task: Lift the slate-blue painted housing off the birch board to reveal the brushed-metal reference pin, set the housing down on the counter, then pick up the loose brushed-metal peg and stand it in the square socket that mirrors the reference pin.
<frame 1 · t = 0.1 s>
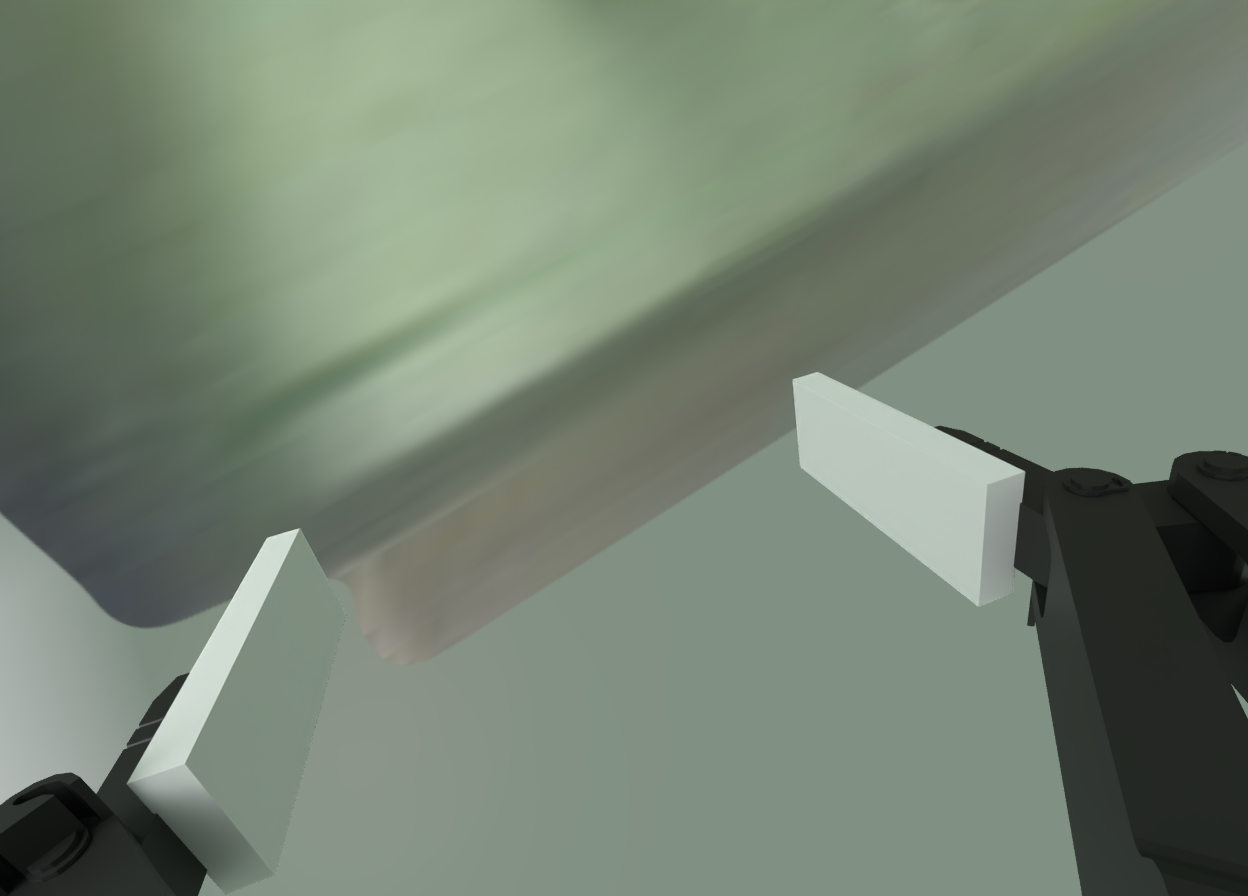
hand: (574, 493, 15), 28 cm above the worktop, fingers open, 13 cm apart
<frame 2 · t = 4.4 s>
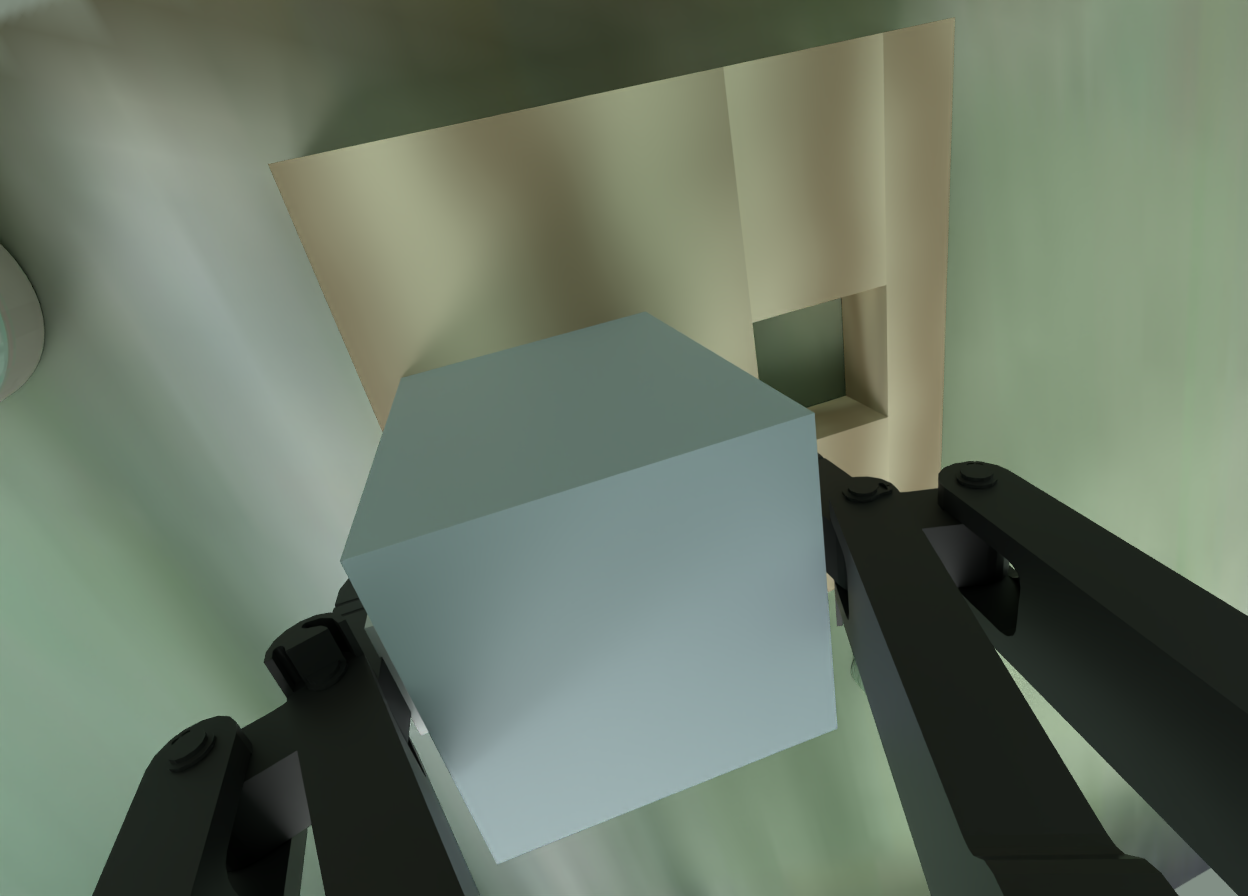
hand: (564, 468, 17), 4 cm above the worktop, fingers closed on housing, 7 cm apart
board: (671, 389, 21), on the worktop
housing: (558, 453, 18), point 3 cm above the worktop, touching board, gripper
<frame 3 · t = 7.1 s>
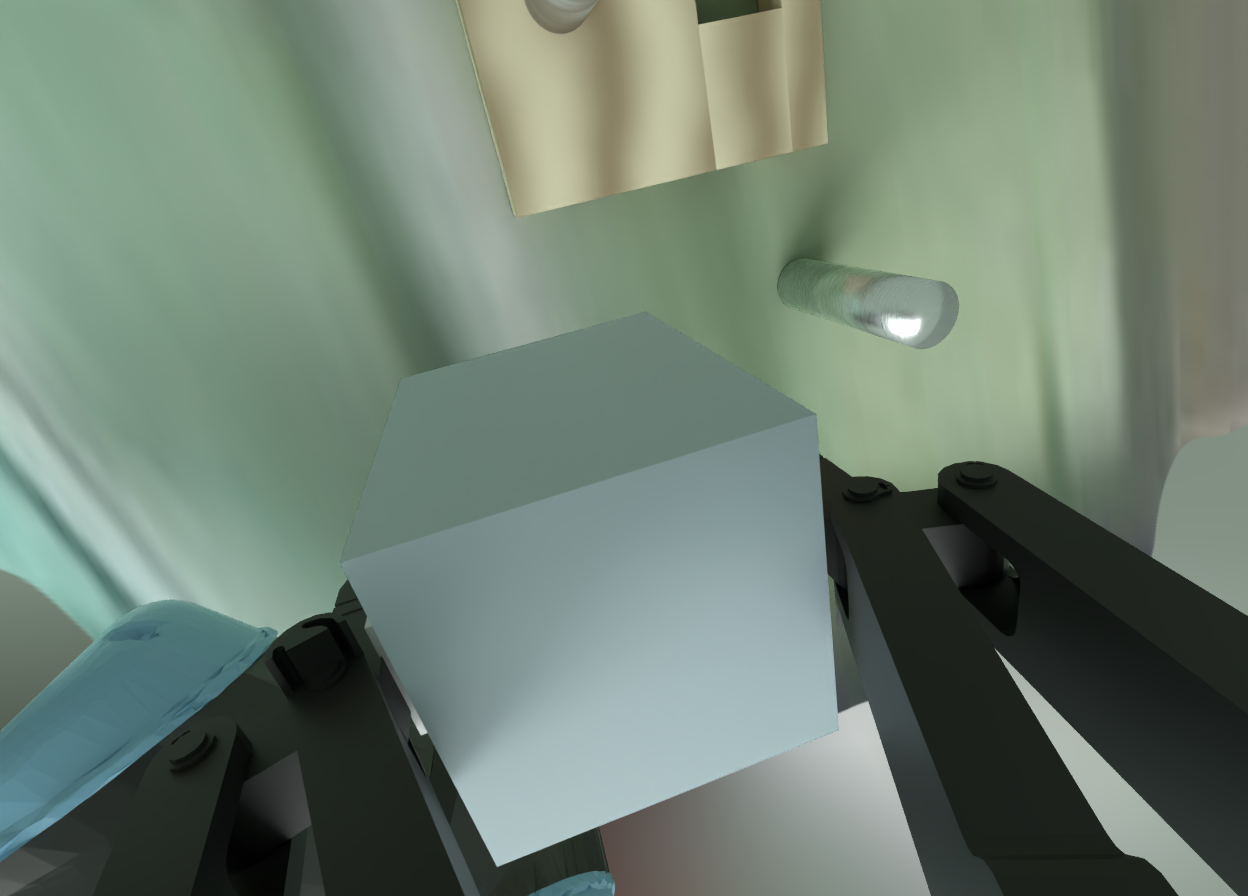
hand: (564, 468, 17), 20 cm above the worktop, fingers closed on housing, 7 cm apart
peg: (799, 283, 39), on the worktop
housing: (558, 454, 18), point 19 cm above the worktop, touching gripper
when the fingers open (3 cm above the worktop, at t = 10.1 s): housing drops 2 cm, on the worktop.
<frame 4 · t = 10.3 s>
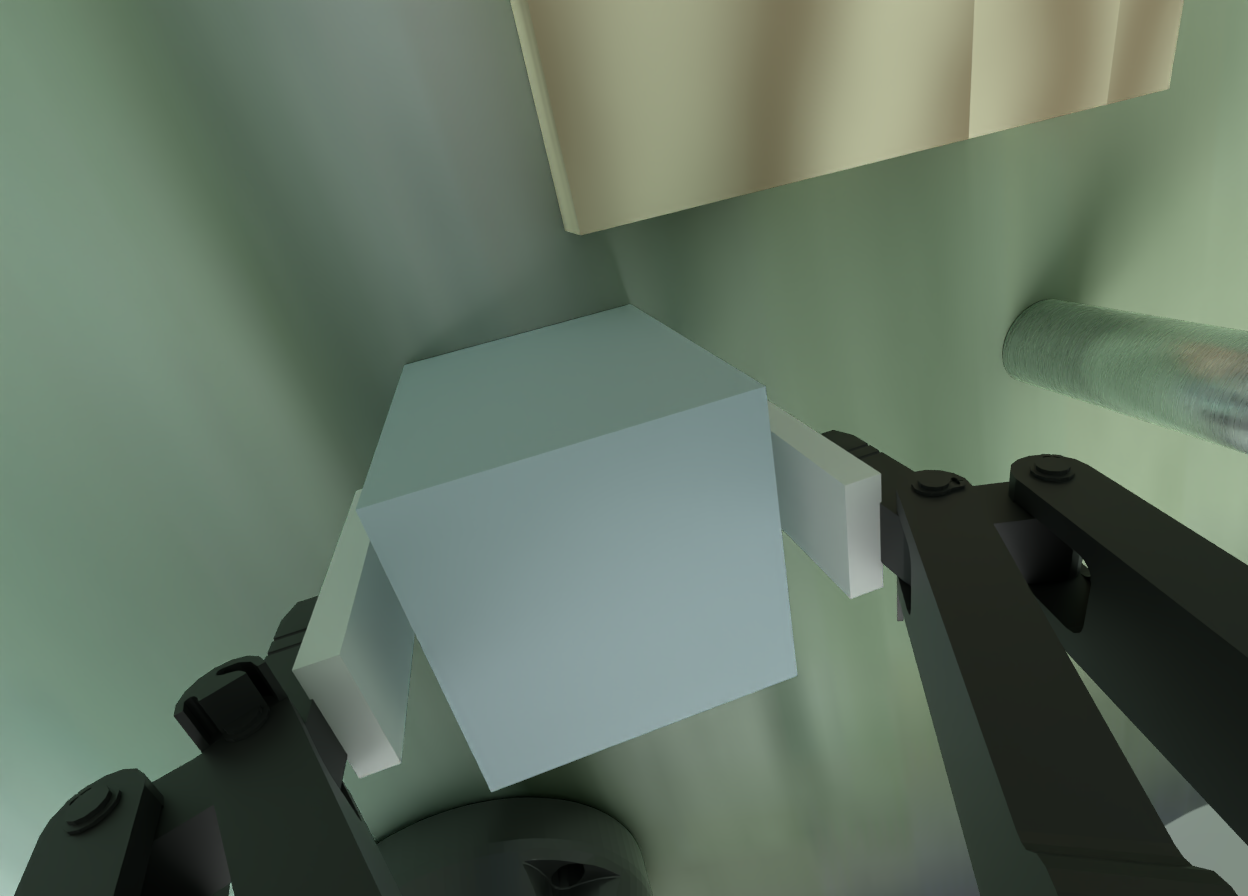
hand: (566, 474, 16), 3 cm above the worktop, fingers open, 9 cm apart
peg: (1038, 341, 23), on the worktop
housing: (550, 436, 19), on the worktop
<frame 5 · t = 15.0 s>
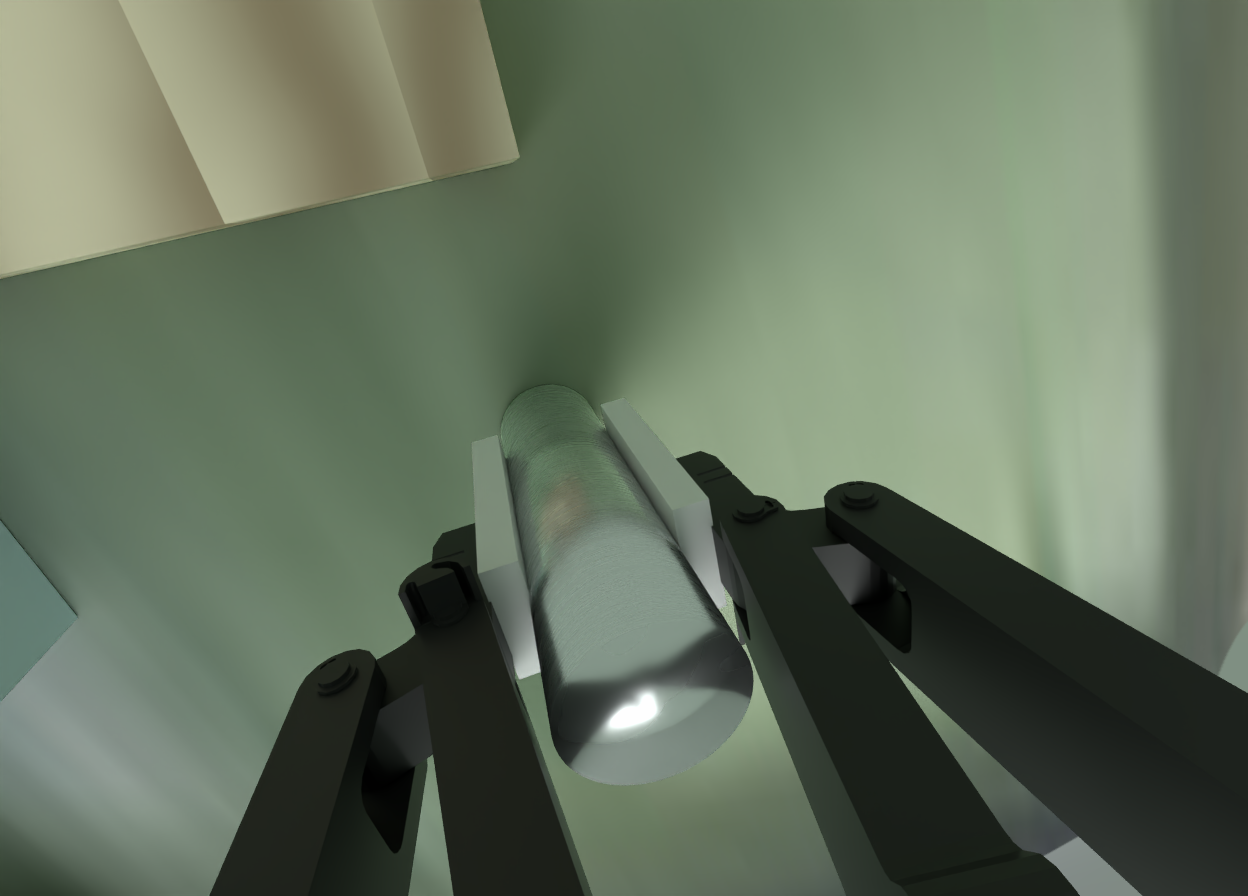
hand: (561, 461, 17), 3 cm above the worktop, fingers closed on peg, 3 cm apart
peg: (549, 430, 20), on the worktop, touching gripper
when the fingers open (4 cm above the worktop, at t = 20.7 s): peg stays where it is, resting in board.
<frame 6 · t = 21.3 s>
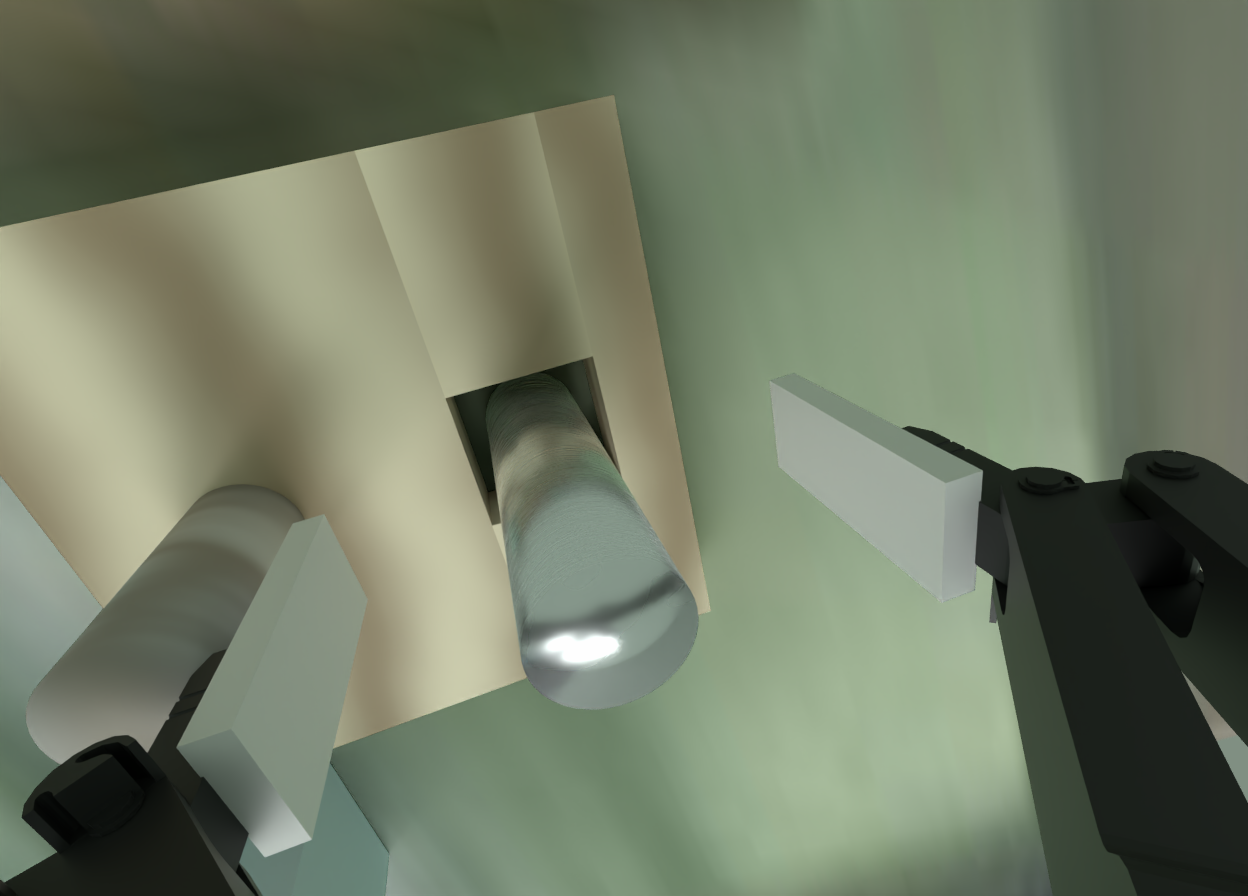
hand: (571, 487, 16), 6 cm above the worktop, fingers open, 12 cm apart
board: (405, 455, 20), on the worktop
peg: (531, 415, 21), resting in board
housing: (276, 839, 25), on the worktop
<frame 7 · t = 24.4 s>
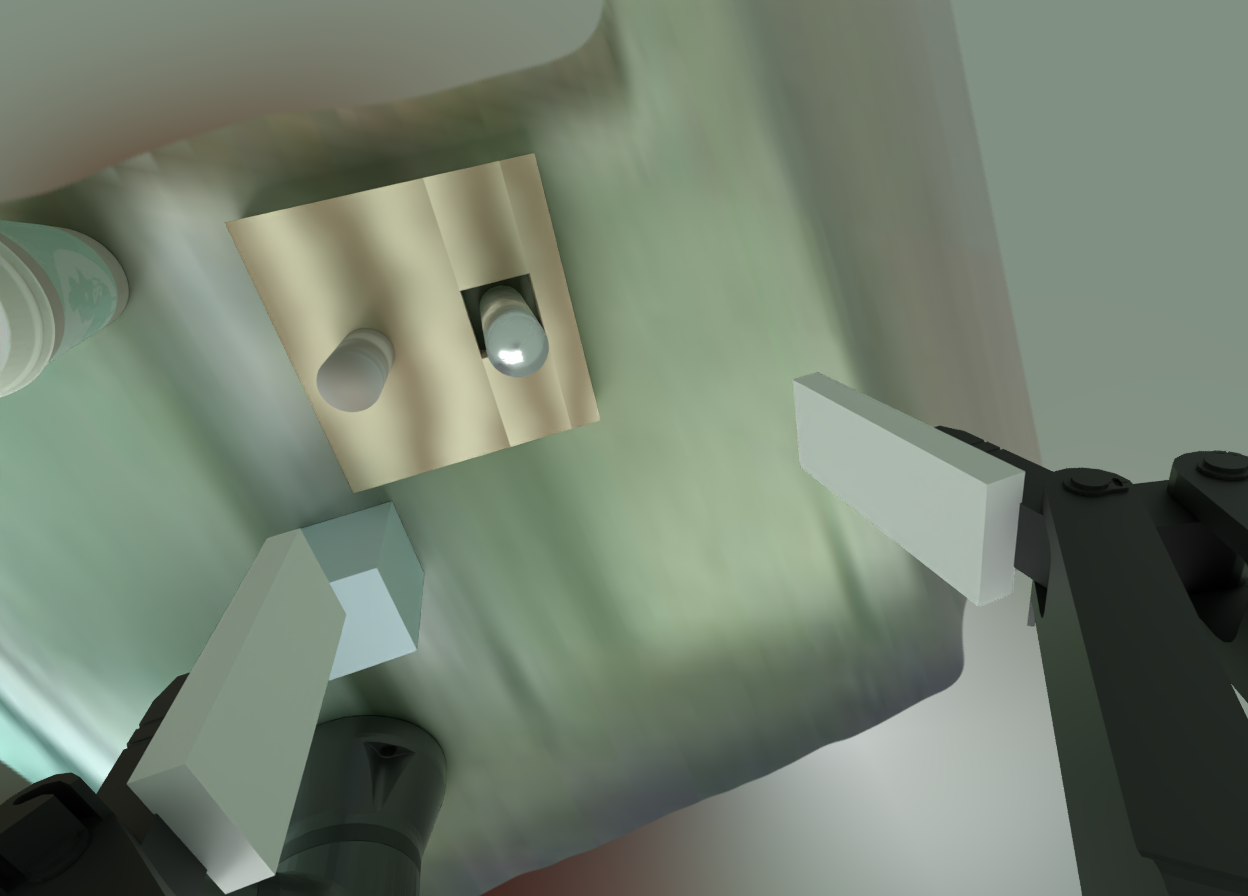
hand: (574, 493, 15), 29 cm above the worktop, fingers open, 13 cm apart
board: (439, 327, 40), on the worktop
coffee cup: (72, 278, 34), on the worktop
peg: (502, 309, 41), resting in board
housing: (363, 553, 45), on the worktop
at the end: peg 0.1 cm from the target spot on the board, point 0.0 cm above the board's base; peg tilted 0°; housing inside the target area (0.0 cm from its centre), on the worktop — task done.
